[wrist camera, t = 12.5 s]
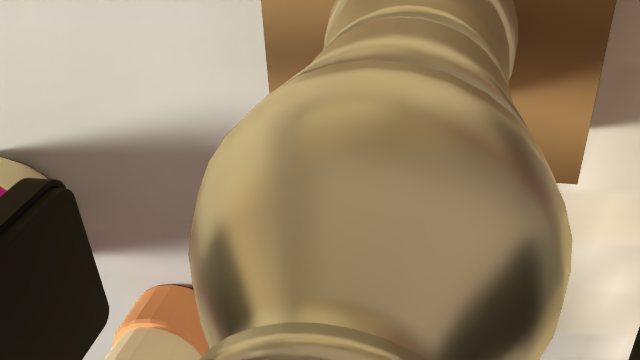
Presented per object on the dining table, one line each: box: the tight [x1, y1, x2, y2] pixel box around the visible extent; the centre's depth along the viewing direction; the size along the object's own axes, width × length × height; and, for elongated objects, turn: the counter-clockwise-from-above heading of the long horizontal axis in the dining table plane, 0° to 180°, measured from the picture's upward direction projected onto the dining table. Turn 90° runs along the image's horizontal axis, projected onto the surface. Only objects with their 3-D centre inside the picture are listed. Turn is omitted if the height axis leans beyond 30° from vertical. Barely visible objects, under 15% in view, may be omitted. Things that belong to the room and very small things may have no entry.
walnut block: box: [261, 0, 616, 184], centre depth 24 cm, size 13×13×5 cm
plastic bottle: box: [189, 0, 572, 360], centre depth 14 cm, size 6×7×20 cm
